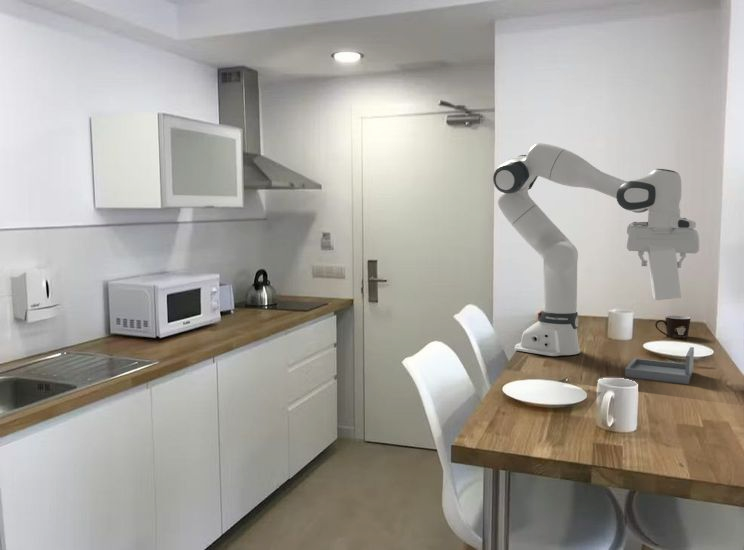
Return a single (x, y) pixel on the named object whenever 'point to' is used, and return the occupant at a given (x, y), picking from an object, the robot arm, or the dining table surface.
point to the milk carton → (663, 272)
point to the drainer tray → (662, 369)
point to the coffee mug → (676, 326)
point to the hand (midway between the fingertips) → (661, 267)
